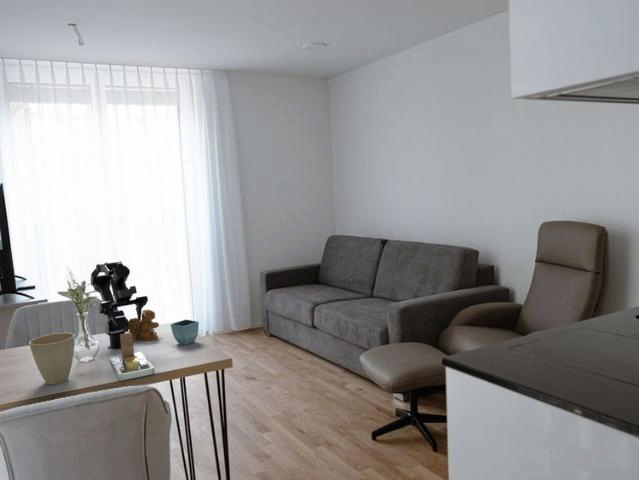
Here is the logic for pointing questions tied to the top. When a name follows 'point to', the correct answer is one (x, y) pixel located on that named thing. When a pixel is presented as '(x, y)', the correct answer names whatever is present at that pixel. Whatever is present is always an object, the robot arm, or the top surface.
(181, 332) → the flower pot
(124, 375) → the tray
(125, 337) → the brown block
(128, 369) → the yellow small block
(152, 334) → the stuffed squirrel
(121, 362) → the slot bed
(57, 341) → the plant pot
